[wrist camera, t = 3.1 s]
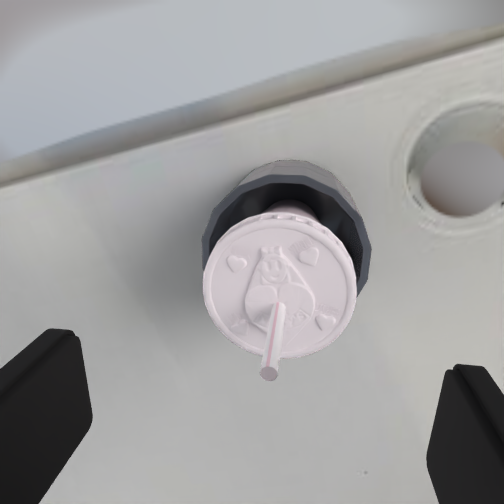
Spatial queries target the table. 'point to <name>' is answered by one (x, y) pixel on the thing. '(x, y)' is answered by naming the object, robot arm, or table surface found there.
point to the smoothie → (280, 285)
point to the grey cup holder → (301, 189)
